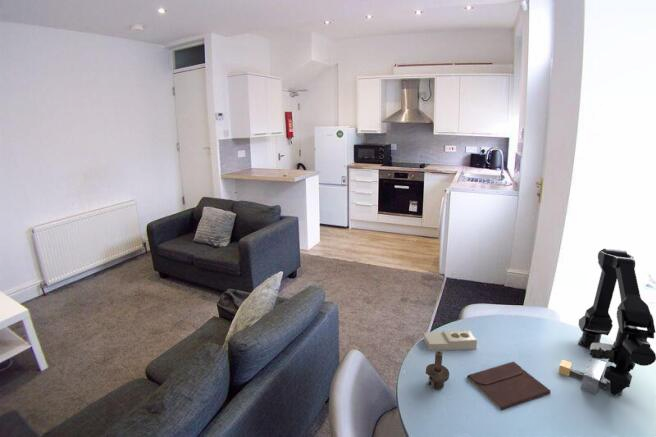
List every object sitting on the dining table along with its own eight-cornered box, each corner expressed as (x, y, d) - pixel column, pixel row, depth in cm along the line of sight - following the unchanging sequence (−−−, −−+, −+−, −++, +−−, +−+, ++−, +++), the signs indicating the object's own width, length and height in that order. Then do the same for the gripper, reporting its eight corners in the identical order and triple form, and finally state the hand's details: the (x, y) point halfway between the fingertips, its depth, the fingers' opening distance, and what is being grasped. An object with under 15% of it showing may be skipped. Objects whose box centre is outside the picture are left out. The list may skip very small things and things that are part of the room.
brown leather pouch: (550, 394, 117) (551, 389, 117) (501, 411, 111) (502, 406, 110) (512, 365, 131) (512, 360, 130) (466, 379, 124) (467, 374, 124)
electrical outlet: (424, 330, 144) (469, 329, 145) (423, 340, 145) (468, 338, 146) (429, 342, 137) (477, 340, 138) (429, 351, 138) (476, 349, 139)
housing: (588, 370, 128) (591, 357, 126) (602, 376, 125) (606, 362, 123) (580, 388, 119) (583, 374, 118) (595, 395, 117) (599, 380, 115)
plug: (560, 366, 130) (561, 359, 129) (621, 388, 119) (623, 381, 119) (558, 372, 127) (560, 365, 126) (620, 396, 116) (623, 388, 116)
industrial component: (439, 374, 125) (442, 344, 122) (453, 389, 119) (457, 357, 116) (415, 381, 122) (418, 349, 119) (428, 396, 116) (431, 363, 113)
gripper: (600, 322, 125) (591, 362, 129) (588, 346, 112) (578, 389, 117) (643, 336, 118) (631, 377, 122) (635, 363, 105) (623, 409, 109)
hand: (615, 387), depth 118 cm, fingers open, 8 cm apart
